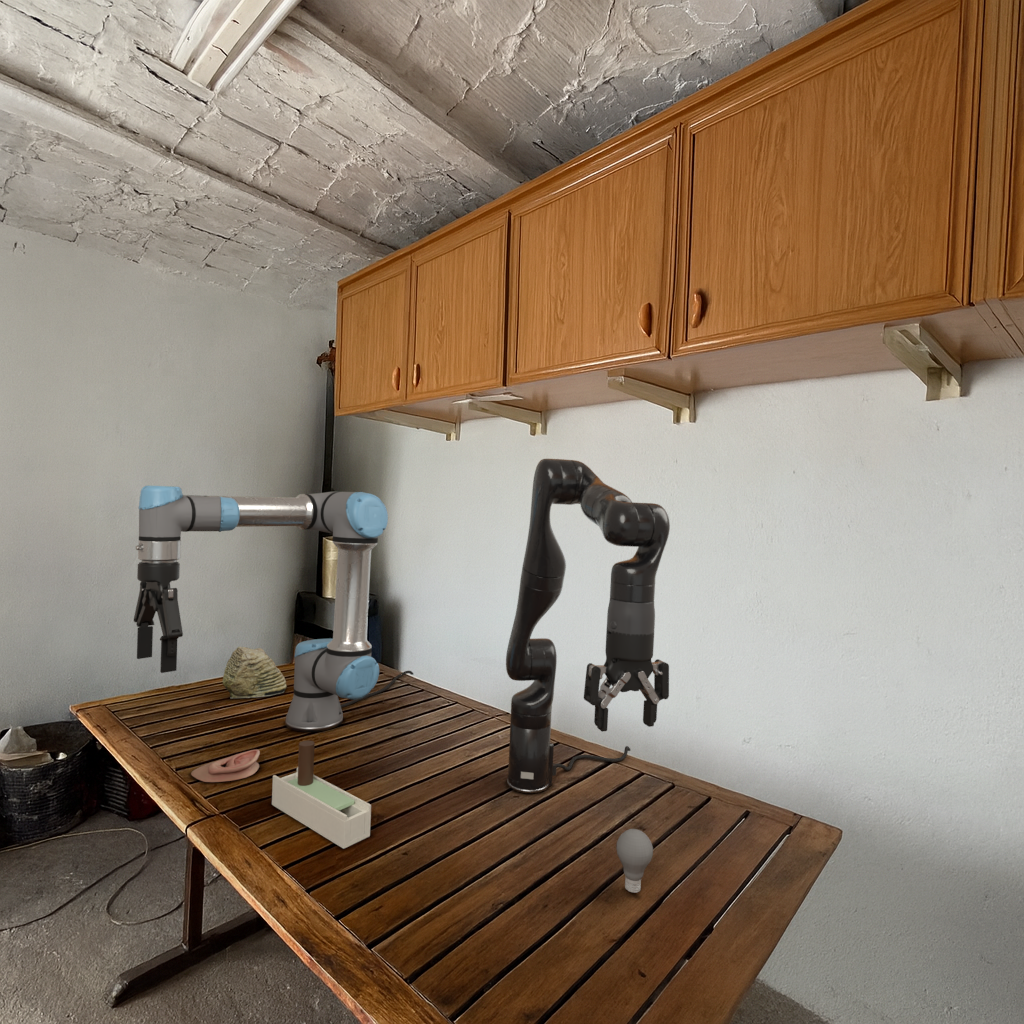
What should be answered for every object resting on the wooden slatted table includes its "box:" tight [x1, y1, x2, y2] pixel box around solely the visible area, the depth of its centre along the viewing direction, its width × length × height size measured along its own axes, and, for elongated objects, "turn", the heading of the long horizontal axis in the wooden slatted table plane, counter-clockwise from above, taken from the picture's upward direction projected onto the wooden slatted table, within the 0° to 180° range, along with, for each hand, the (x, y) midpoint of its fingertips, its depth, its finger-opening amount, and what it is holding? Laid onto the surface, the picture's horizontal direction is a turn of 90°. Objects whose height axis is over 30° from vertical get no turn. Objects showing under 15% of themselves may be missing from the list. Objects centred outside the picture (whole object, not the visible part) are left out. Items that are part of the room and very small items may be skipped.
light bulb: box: [615, 828, 654, 894], centre depth 106 cm, size 6×6×10 cm
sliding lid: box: [288, 739, 354, 811], centre depth 124 cm, size 16×4×9 cm, turn 51°
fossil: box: [222, 646, 288, 699], centre depth 198 cm, size 9×18×15 cm, turn 132°
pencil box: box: [271, 766, 372, 850], centre depth 124 cm, size 24×6×6 cm, turn 51°
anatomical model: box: [190, 748, 261, 783], centre depth 143 cm, size 13×4×12 cm
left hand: (156, 664), depth 130 cm, fingers open, 13 cm apart
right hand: (625, 727), depth 102 cm, fingers open, 8 cm apart
